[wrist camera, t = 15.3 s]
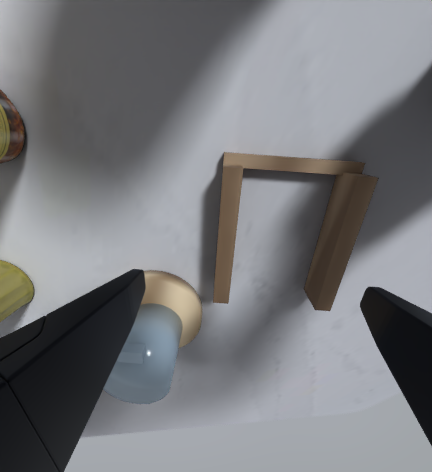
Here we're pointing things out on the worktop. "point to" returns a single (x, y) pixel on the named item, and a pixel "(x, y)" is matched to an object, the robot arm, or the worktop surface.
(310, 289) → the cradle
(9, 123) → the sauce bottle
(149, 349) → the jug
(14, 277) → the vase
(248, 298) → the worktop surface
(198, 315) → the disc
